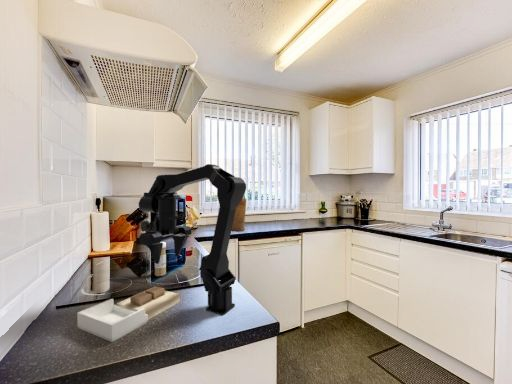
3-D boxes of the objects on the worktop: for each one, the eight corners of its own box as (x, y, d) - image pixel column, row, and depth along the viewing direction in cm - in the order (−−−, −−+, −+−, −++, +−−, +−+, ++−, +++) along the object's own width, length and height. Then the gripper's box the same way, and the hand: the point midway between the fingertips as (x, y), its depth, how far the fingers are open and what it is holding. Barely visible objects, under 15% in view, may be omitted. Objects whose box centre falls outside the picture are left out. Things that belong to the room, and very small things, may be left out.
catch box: (148, 322, 68) (147, 307, 68) (112, 342, 59) (112, 325, 59) (114, 311, 74) (114, 297, 74) (77, 327, 65) (77, 312, 65)
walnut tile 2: (164, 294, 79) (164, 288, 79) (154, 299, 76) (154, 293, 76) (155, 292, 81) (155, 286, 81) (145, 297, 77) (144, 290, 77)
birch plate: (180, 301, 80) (179, 294, 80) (145, 321, 68) (145, 312, 68) (153, 295, 85) (153, 287, 85) (116, 311, 73) (116, 303, 73)
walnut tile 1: (151, 301, 75) (151, 294, 75) (139, 306, 71) (139, 299, 71) (142, 298, 76) (142, 291, 76) (130, 303, 73) (130, 297, 73)
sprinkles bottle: (163, 272, 109) (162, 241, 109) (168, 274, 106) (167, 242, 106) (152, 274, 105) (152, 242, 105) (157, 277, 102) (157, 244, 102)
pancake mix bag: (247, 231, 213) (246, 198, 212) (224, 232, 211) (223, 198, 210) (246, 230, 219) (246, 198, 219) (224, 230, 217) (224, 198, 217)
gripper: (168, 210, 96) (168, 251, 96) (125, 214, 79) (125, 264, 79) (192, 211, 91) (192, 254, 91) (152, 216, 74) (152, 269, 74)
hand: (167, 259), depth 84 cm, fingers open, 9 cm apart
